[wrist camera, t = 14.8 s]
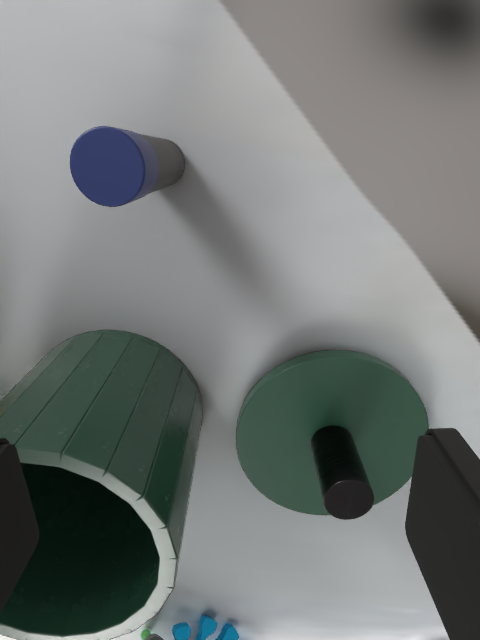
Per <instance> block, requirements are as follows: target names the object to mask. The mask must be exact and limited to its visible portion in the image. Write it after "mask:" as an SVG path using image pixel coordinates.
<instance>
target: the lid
mask: <svg viewBox="0 0 480 640" xmlns="http://www.w3.org/2000/svg"><path fill="white" fill-rule="evenodd" d="M427 429H429V425H428V419H427V413H426V411H425V408H424V405H423V403H422V401H421V399H420V397H419V395H418V394H417V392H416V391H415V389H414V388H413V387H412V385H411V384H410V383H409V381H408V380H407V379H406V378H405V377H404V376H403V375H402V374H401V373H400V372H399V371H398V370H396V369H395V368H393V367H392V366H391V365H389V364H387V363H386V362H384V361H382V360H380V359H378V358H375V357H372V356H370V355H367V354H363V353H358V352H354V351H344V350H326V351H319V352H313V353H309V354H305V355H301V356H299V357H296V358H294V359H291V360H289V361H287V362H285V363H283V364H281V365H279V366H277V367H276V368H275V369H273V370H272V371H270V372H269V373H268V374H266V375H265V376H264V377H263V378H262V379H261V380H260V381H259V382H258V383H257V384H256V385H255V386H254V388H253V389H252V390H251V391H250V393H249V394H248V396H247V398H246V399H245V401H244V403H243V405H242V408H241V410H240V413H239V417H238V421H237V429H236V448H237V454H238V458H239V461H240V464H241V467H242V469H243V471H244V472H245V474H246V476H247V478H248V479H249V480H250V482H251V483H252V484H253V485H254V486H255V487H256V488H257V489H258V490H259V491H260V492H261V493H262V494H263V495H265V496H266V497H267V498H269V499H270V500H272V501H274V502H275V503H277V504H279V505H281V506H283V507H286V508H288V509H291V510H294V511H298V512H302V513H307V514H314V515H332V516H334V517H336V518H339V519H345V520H346V519H355V518H358V517H361V516H363V515H364V514H366V513H367V512H368V511H369V510H370V509H371V507H372V505H375V504H377V503H379V502H381V501H383V500H384V499H386V498H388V497H389V496H391V495H392V494H394V493H395V492H396V491H398V490H399V489H400V488H401V487H402V486H403V485H404V484H405V483H406V482H407V481H408V480H409V479H410V478H411V477H412V474H413V467H414V461H415V454H416V447H417V440H418V437H419V436H421V435H425V432H426V431H427Z"/></svg>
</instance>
